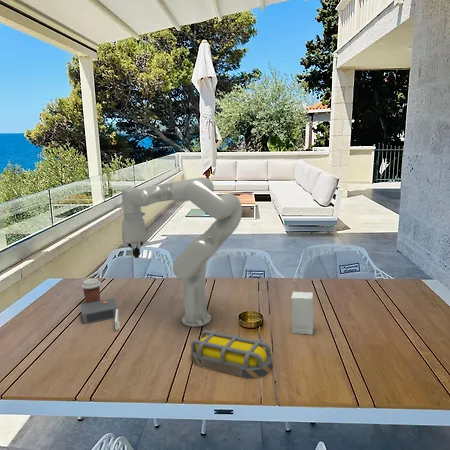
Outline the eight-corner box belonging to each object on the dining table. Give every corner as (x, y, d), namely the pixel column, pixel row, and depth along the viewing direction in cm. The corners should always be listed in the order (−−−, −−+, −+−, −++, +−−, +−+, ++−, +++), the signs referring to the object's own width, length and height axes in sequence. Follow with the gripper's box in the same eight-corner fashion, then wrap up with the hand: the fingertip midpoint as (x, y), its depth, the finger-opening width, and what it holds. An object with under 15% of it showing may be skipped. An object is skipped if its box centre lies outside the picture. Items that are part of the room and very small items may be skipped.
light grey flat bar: (120, 316, 179) (119, 308, 178) (120, 329, 167) (119, 321, 166) (116, 316, 179) (115, 308, 178) (115, 330, 166) (114, 321, 165)
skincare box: (313, 327, 162) (314, 292, 159) (312, 335, 156) (313, 298, 152) (293, 326, 164) (292, 290, 161) (291, 333, 158) (291, 297, 155)
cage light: (262, 361, 126) (182, 342, 140) (262, 383, 128) (183, 363, 141) (277, 339, 139) (203, 324, 152) (278, 360, 141) (204, 343, 154)
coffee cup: (79, 307, 192) (76, 283, 189) (90, 299, 200) (87, 277, 198) (96, 308, 189) (93, 284, 187) (106, 300, 198) (103, 277, 195)
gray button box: (118, 317, 179) (117, 306, 178) (83, 324, 173) (82, 313, 172) (114, 305, 192) (113, 295, 191) (81, 312, 186) (80, 302, 185)
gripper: (148, 213, 178) (151, 252, 182) (113, 217, 172) (118, 257, 176) (151, 215, 171) (155, 256, 175) (116, 220, 165) (120, 262, 169)
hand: (136, 257), depth 175 cm, fingers closed
